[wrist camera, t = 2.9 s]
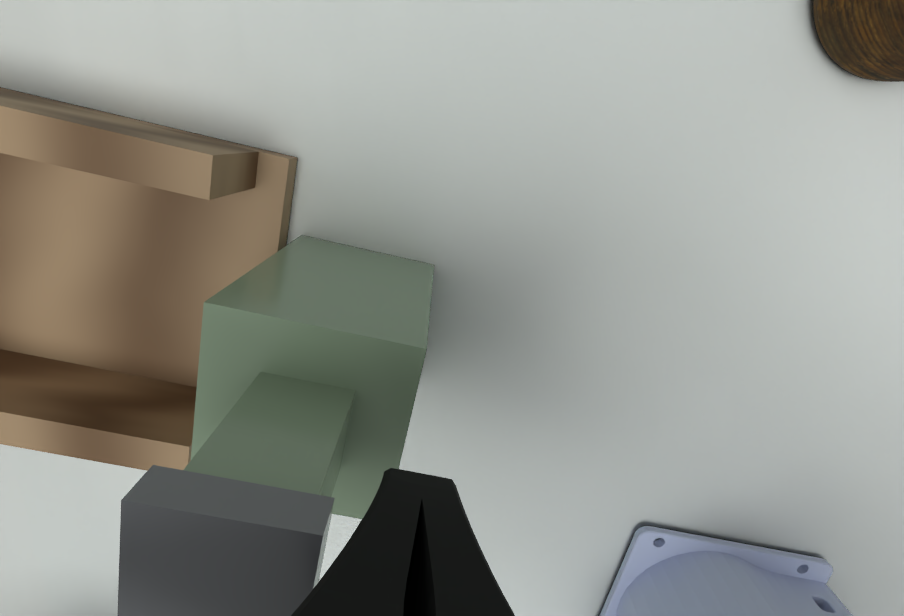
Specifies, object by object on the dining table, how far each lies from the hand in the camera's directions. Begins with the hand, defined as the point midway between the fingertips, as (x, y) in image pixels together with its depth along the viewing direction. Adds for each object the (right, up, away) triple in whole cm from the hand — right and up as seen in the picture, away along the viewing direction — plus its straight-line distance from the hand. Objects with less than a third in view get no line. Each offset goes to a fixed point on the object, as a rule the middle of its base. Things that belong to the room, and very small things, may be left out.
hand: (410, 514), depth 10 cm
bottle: (-3, +4, +10) cm, 11 cm away
